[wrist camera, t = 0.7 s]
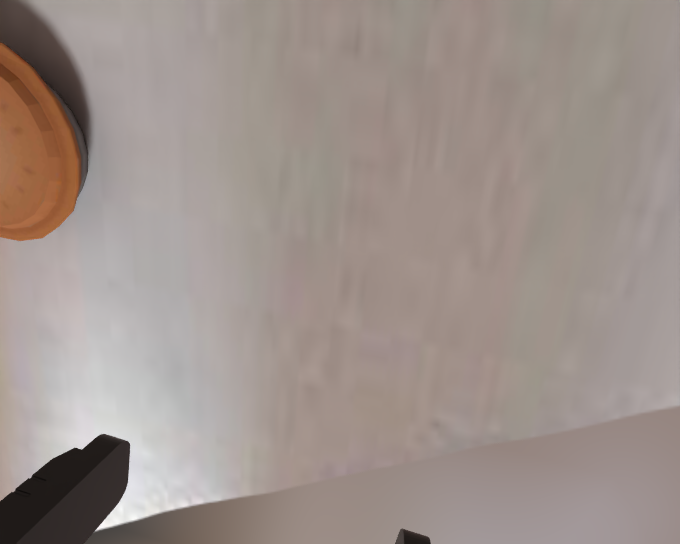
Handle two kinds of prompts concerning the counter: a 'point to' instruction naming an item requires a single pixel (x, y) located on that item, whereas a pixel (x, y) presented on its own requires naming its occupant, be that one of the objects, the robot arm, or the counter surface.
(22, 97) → the pie
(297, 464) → the counter surface
